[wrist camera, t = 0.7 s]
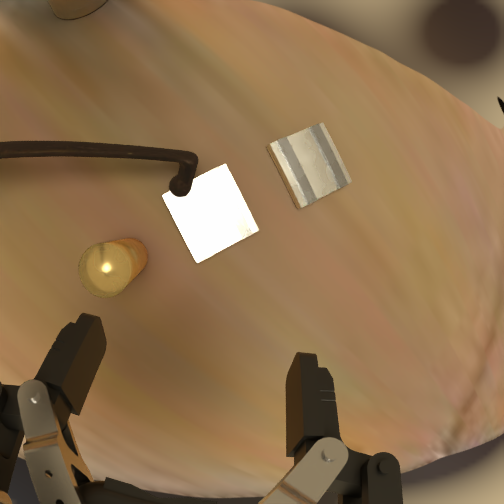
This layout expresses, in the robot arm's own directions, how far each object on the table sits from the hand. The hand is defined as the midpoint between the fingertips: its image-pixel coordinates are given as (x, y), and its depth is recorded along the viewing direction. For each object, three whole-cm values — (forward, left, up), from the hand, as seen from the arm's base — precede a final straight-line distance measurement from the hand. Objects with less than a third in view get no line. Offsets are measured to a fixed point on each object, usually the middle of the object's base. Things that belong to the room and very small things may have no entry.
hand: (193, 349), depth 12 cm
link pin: (-4, -5, -23) cm, 24 cm away
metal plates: (-4, +12, -23) cm, 26 cm away
